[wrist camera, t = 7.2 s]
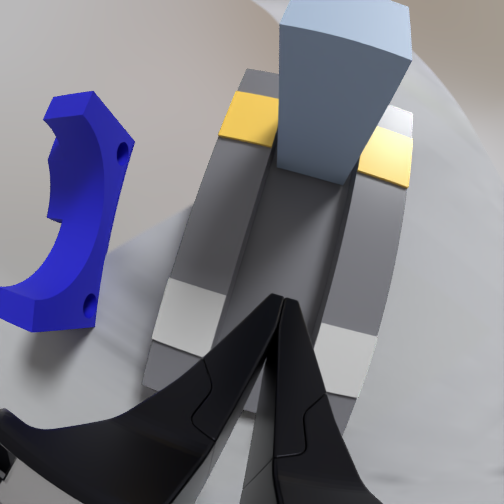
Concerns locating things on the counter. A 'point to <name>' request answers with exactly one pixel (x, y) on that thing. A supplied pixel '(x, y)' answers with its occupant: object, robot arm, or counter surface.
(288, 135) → the tab
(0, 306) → the cable clip
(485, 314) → the counter surface
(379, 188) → the switch housing
